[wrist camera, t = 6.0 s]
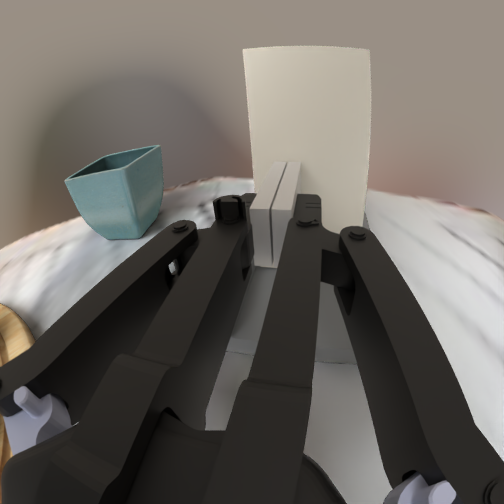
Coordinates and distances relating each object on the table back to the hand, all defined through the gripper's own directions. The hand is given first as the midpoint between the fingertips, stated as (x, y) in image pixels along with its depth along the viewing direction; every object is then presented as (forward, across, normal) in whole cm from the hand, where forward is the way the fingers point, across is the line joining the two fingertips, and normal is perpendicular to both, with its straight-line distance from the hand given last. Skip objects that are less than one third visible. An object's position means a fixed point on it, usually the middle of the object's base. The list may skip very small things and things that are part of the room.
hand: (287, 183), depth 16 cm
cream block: (+3, +1, -7) cm, 8 cm away
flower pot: (+8, -20, -9) cm, 23 cm away
